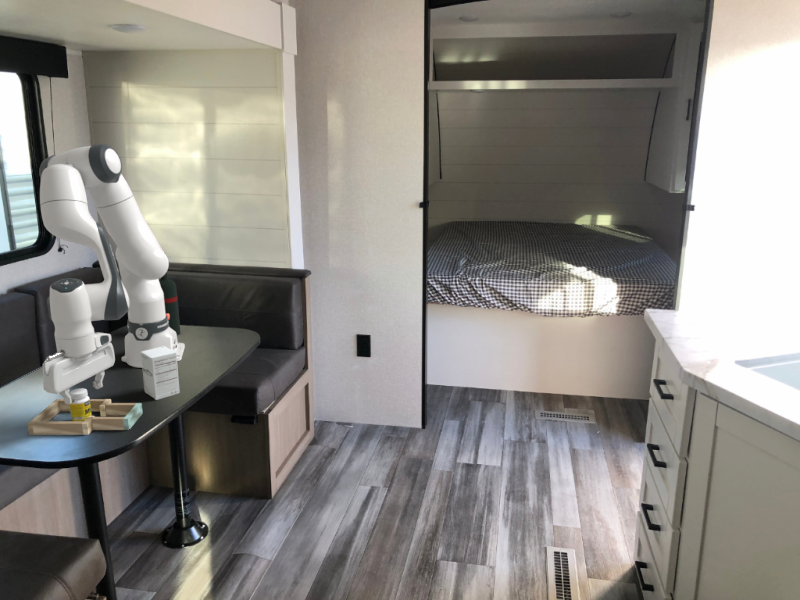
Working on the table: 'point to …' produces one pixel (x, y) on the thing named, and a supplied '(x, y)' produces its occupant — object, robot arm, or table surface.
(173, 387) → the supplement box
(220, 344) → the table surface
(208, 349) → the table surface
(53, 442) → the table surface
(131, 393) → the table surface
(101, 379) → the robot arm
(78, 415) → the supplement bottle
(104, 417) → the keyhole corral
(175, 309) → the wine bottle
